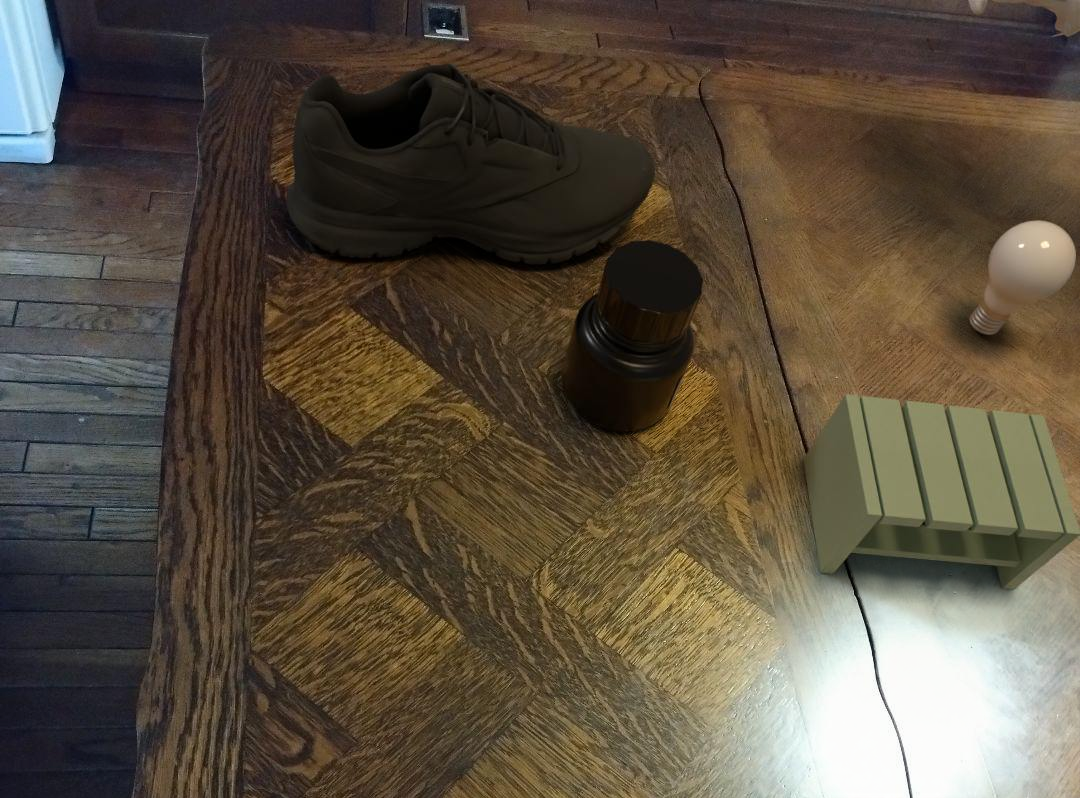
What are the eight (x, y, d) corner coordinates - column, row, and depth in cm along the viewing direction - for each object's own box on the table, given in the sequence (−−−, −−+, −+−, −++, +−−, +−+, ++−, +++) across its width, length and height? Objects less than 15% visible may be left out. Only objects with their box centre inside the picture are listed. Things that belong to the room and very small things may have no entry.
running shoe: (657, 263, 84) (703, 126, 73) (299, 289, 77) (287, 141, 65) (620, 172, 90) (657, 31, 78) (281, 189, 82) (267, 35, 71)
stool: (984, 477, 78) (1044, 415, 71) (1014, 589, 73) (1081, 534, 66) (802, 459, 76) (845, 393, 69) (820, 573, 71) (868, 514, 64)
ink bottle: (696, 415, 76) (747, 306, 66) (602, 454, 73) (640, 346, 63) (628, 328, 80) (667, 212, 70) (536, 361, 77) (562, 244, 67)
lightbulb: (1003, 368, 84) (1082, 273, 75) (935, 331, 85) (1005, 234, 76) (1023, 325, 87) (1102, 229, 78) (958, 290, 88) (1028, 191, 79)
